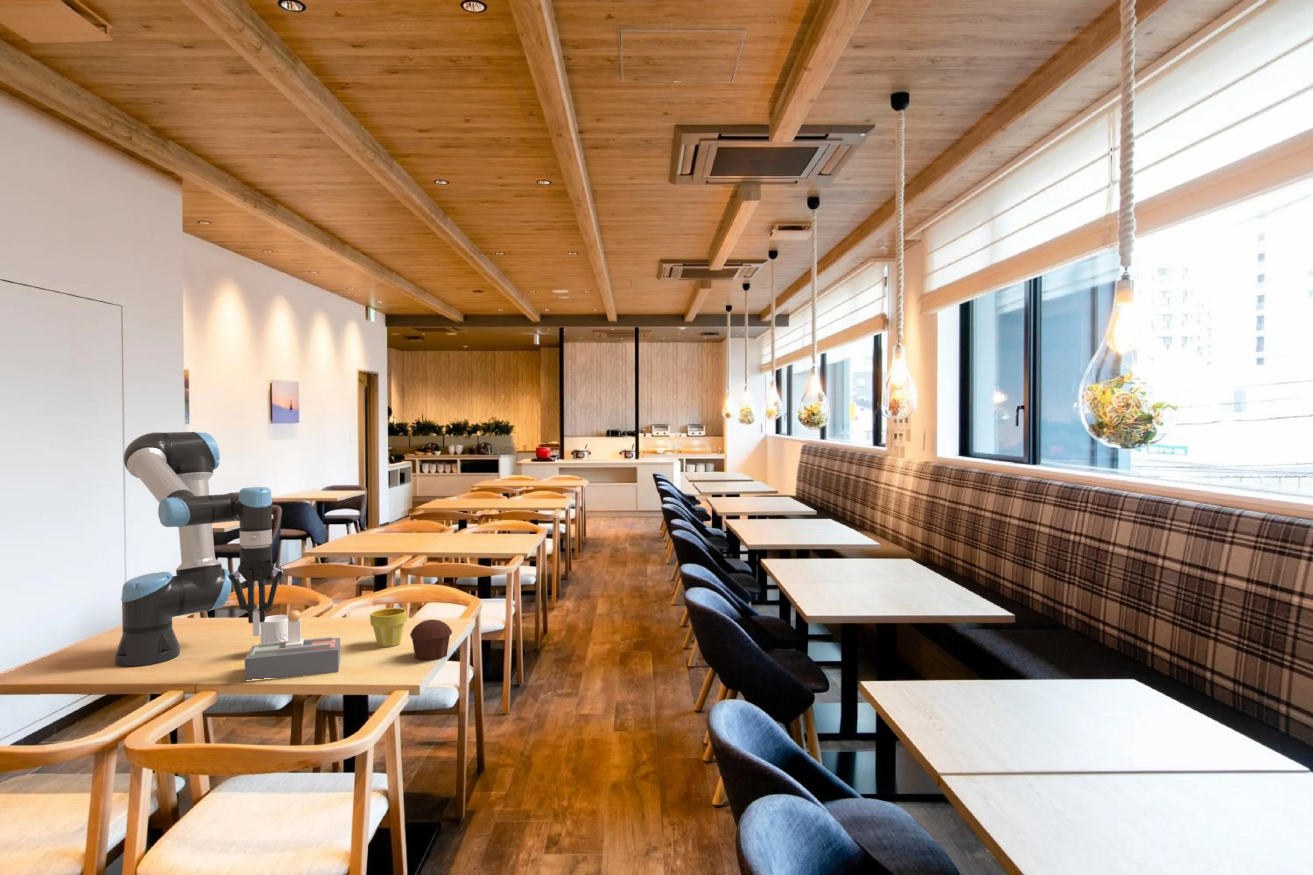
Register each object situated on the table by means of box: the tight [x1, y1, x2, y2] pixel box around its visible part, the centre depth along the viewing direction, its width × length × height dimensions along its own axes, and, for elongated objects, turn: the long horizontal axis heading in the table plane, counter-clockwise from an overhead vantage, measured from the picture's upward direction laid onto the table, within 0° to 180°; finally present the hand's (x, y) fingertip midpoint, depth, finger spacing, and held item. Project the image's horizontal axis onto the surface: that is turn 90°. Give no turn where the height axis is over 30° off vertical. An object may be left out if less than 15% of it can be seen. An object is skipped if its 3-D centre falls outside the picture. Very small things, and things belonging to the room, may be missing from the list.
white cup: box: [259, 614, 288, 644], centre depth 214 cm, size 8×8×10 cm
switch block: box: [244, 636, 341, 681], centre depth 198 cm, size 12×22×7 cm, turn 111°
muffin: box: [409, 619, 453, 662], centre depth 210 cm, size 12×11×10 cm
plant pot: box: [369, 607, 408, 648], centre depth 222 cm, size 10×10×10 cm
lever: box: [285, 609, 305, 648], centre depth 198 cm, size 5×4×10 cm
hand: (257, 634), depth 195 cm, fingers closed
